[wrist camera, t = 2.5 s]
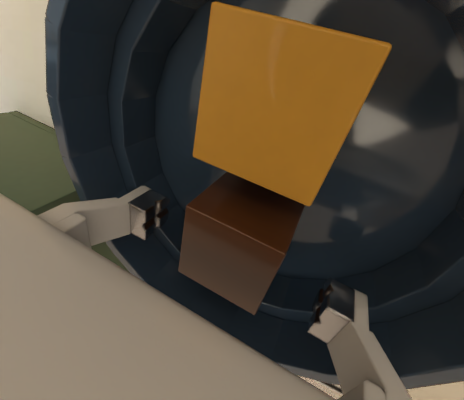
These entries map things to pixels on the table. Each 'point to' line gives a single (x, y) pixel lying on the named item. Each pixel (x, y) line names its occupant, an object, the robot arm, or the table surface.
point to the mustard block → (280, 97)
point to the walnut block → (237, 239)
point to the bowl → (329, 195)
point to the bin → (36, 169)
